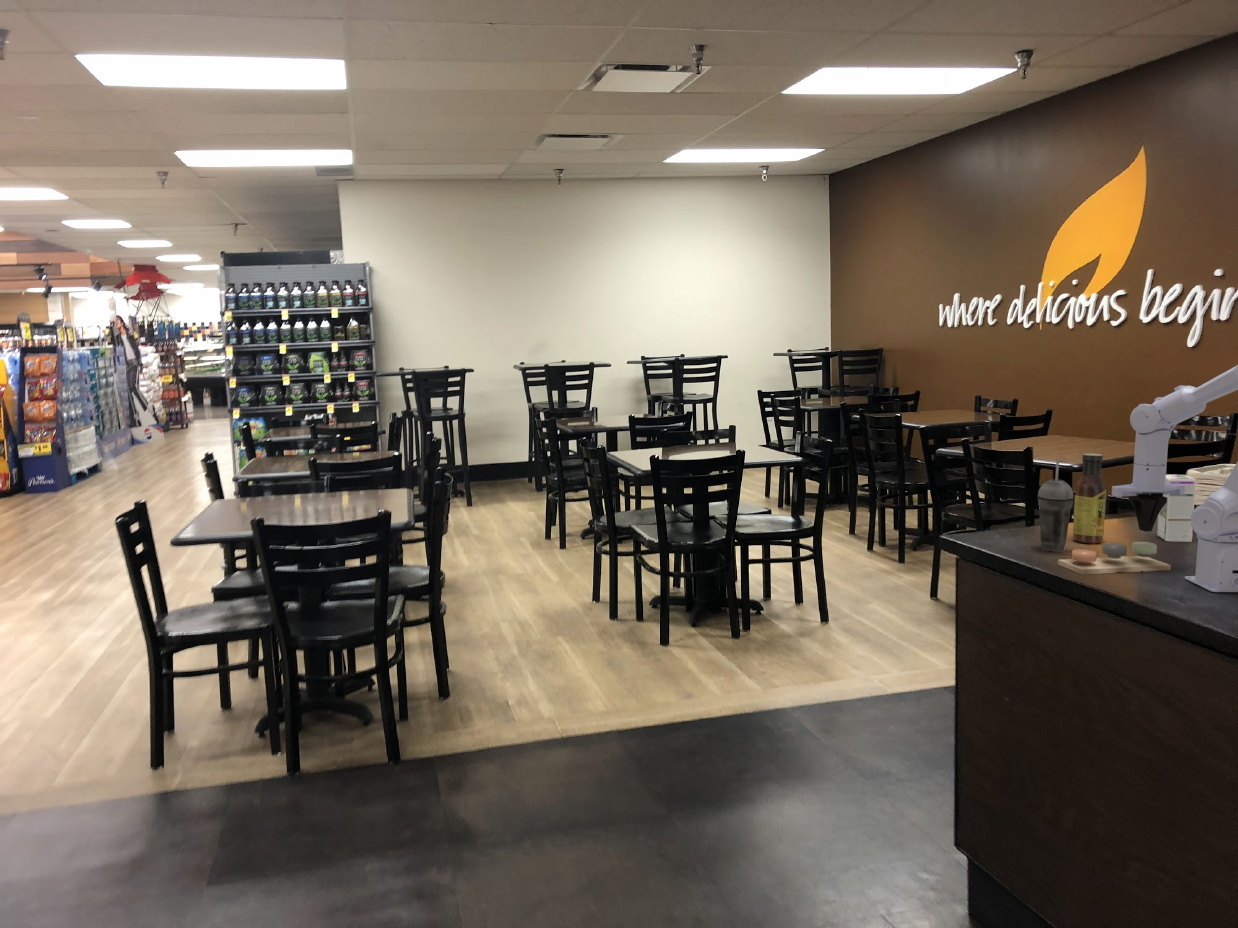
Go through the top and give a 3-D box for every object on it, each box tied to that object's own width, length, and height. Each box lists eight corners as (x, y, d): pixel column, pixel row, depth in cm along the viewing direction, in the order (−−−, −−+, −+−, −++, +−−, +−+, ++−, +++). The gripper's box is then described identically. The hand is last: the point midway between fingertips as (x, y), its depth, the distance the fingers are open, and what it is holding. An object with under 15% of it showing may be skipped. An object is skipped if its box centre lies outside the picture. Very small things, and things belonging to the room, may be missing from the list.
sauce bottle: (1102, 545, 207) (1108, 457, 204) (1071, 542, 210) (1076, 455, 207) (1103, 539, 212) (1109, 453, 209) (1073, 537, 215) (1078, 451, 212)
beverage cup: (1033, 551, 202) (1037, 460, 199) (1035, 544, 209) (1040, 456, 206) (1070, 555, 199) (1075, 462, 196) (1071, 547, 205) (1077, 457, 202)
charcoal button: (1117, 553, 191) (1117, 542, 190) (1131, 559, 186) (1132, 547, 186) (1097, 554, 190) (1097, 543, 190) (1110, 560, 186) (1111, 548, 185)
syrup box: (1192, 542, 209) (1198, 478, 207) (1164, 541, 210) (1168, 477, 208) (1183, 536, 214) (1187, 474, 212) (1154, 535, 215) (1159, 473, 213)
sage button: (1146, 552, 192) (1147, 541, 191) (1161, 557, 187) (1162, 546, 187) (1126, 553, 191) (1127, 542, 191) (1141, 558, 187) (1141, 547, 186)
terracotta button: (1087, 560, 190) (1087, 548, 190) (1100, 565, 186) (1101, 553, 185) (1067, 561, 190) (1067, 549, 189) (1080, 566, 185) (1081, 554, 185)
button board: (1143, 560, 194) (1143, 555, 194) (1170, 570, 186) (1170, 565, 186) (1057, 564, 191) (1058, 559, 191) (1081, 574, 183) (1082, 569, 183)
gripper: (1169, 460, 191) (1164, 524, 193) (1103, 462, 189) (1099, 527, 191) (1194, 465, 184) (1189, 532, 186) (1126, 467, 182) (1122, 535, 184)
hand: (1145, 530), depth 188 cm, fingers closed
